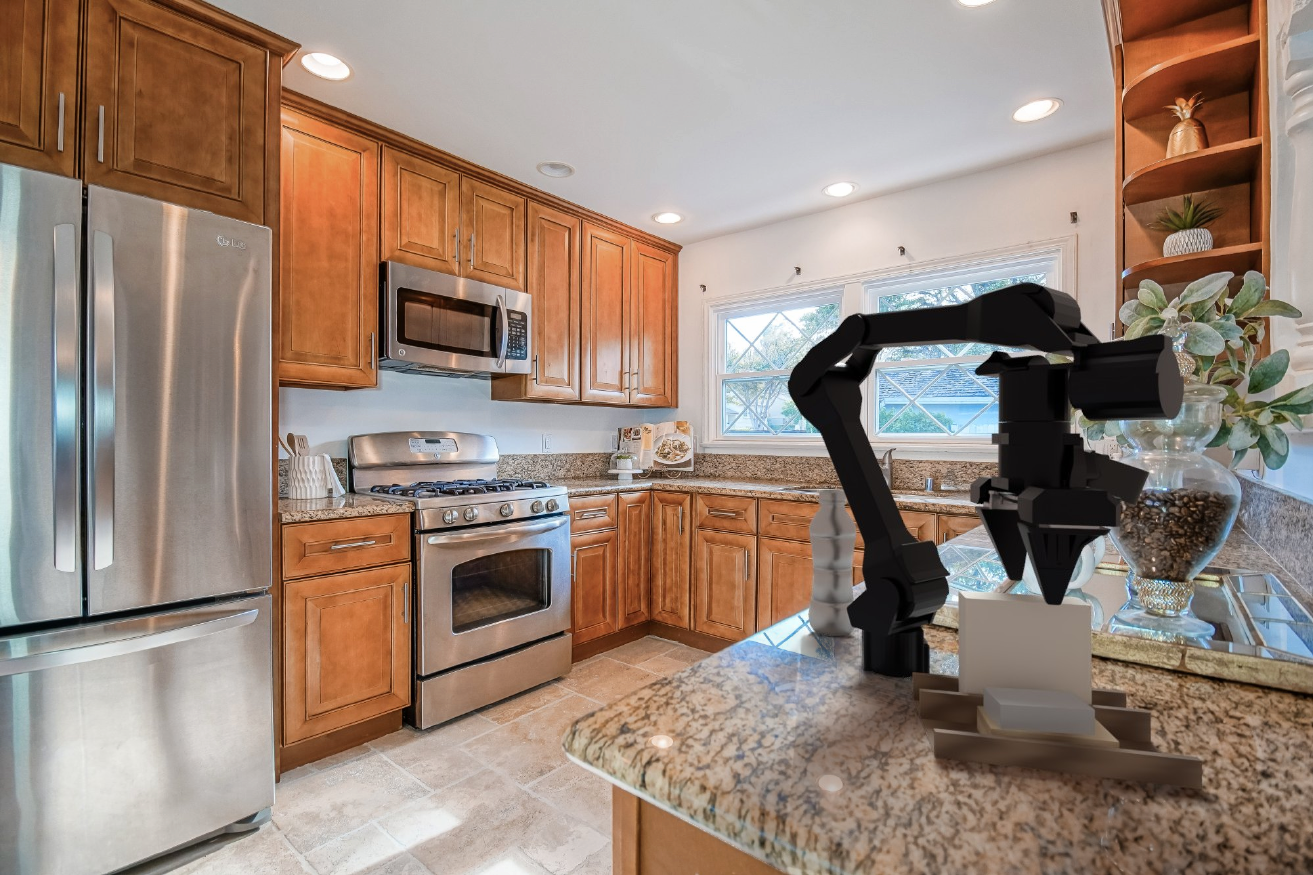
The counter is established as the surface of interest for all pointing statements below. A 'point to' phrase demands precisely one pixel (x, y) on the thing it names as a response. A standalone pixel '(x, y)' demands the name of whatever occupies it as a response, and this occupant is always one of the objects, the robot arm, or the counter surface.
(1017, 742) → the rack
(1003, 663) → the panel
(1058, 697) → the grey offcut
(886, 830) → the counter surface
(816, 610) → the plastic bottle
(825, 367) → the robot arm
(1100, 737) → the oak offcut
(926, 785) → the counter surface
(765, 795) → the counter surface
